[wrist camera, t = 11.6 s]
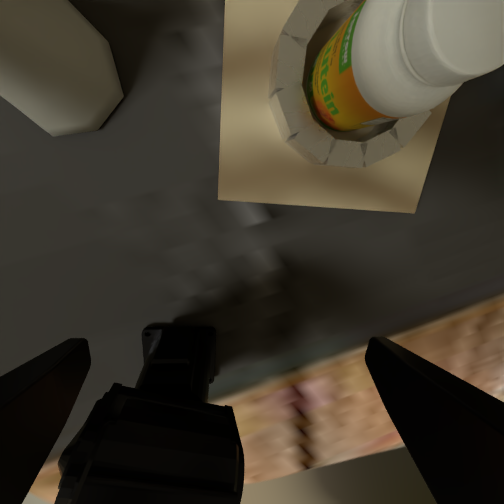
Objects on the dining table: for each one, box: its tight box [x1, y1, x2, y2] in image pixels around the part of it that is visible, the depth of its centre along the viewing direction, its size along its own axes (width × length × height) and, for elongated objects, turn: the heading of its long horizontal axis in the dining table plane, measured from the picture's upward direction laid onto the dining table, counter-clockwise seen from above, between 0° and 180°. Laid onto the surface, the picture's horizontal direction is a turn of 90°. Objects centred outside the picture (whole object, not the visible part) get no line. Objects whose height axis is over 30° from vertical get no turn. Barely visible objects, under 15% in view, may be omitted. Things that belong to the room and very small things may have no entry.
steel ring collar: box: [268, 0, 434, 168], centre depth 15 cm, size 10×10×2 cm
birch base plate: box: [218, 0, 451, 213], centre depth 17 cm, size 16×16×1 cm
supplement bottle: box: [306, 0, 504, 132], centre depth 12 cm, size 5×5×10 cm
